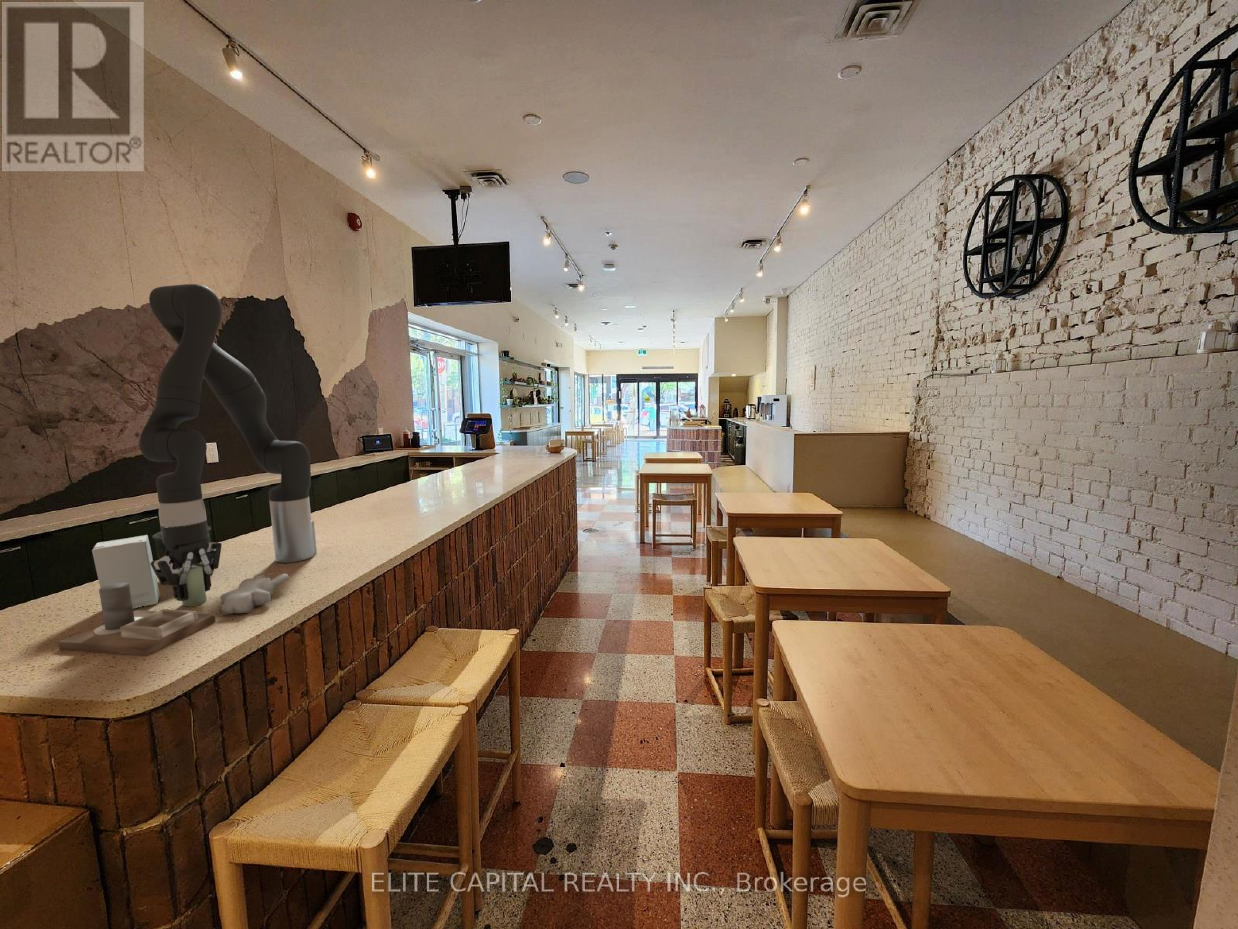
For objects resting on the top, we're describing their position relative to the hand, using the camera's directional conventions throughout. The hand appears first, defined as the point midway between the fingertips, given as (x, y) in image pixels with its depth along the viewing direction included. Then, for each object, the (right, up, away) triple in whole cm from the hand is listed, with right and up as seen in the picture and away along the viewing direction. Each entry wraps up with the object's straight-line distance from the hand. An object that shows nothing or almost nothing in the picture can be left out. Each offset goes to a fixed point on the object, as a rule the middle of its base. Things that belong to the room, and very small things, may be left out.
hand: (193, 595), depth 107 cm
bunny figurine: (+13, -2, +1) cm, 13 cm away
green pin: (0, -2, 0) cm, 2 cm away
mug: (-15, 0, +17) cm, 23 cm away
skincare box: (-12, -2, -1) cm, 13 cm away
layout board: (+2, -4, -14) cm, 15 cm away
